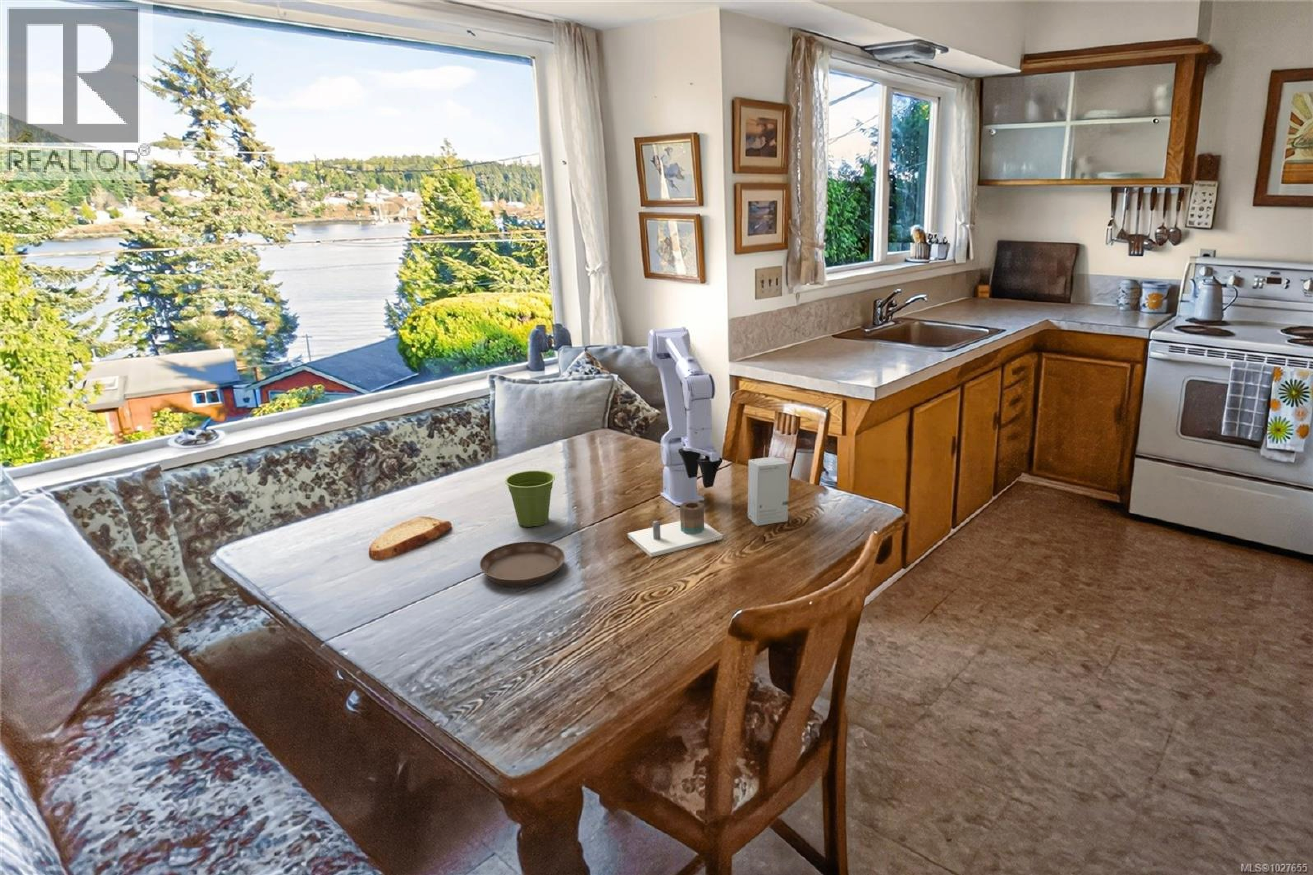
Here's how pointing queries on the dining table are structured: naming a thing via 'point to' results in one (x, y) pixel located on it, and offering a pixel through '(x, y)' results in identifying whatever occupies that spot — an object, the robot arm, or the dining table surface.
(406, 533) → the bread slice
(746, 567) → the dining table surface
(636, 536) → the pin board
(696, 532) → the sleeve
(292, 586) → the dining table surface
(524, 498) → the plant pot
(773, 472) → the skincare box
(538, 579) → the plant saucer
